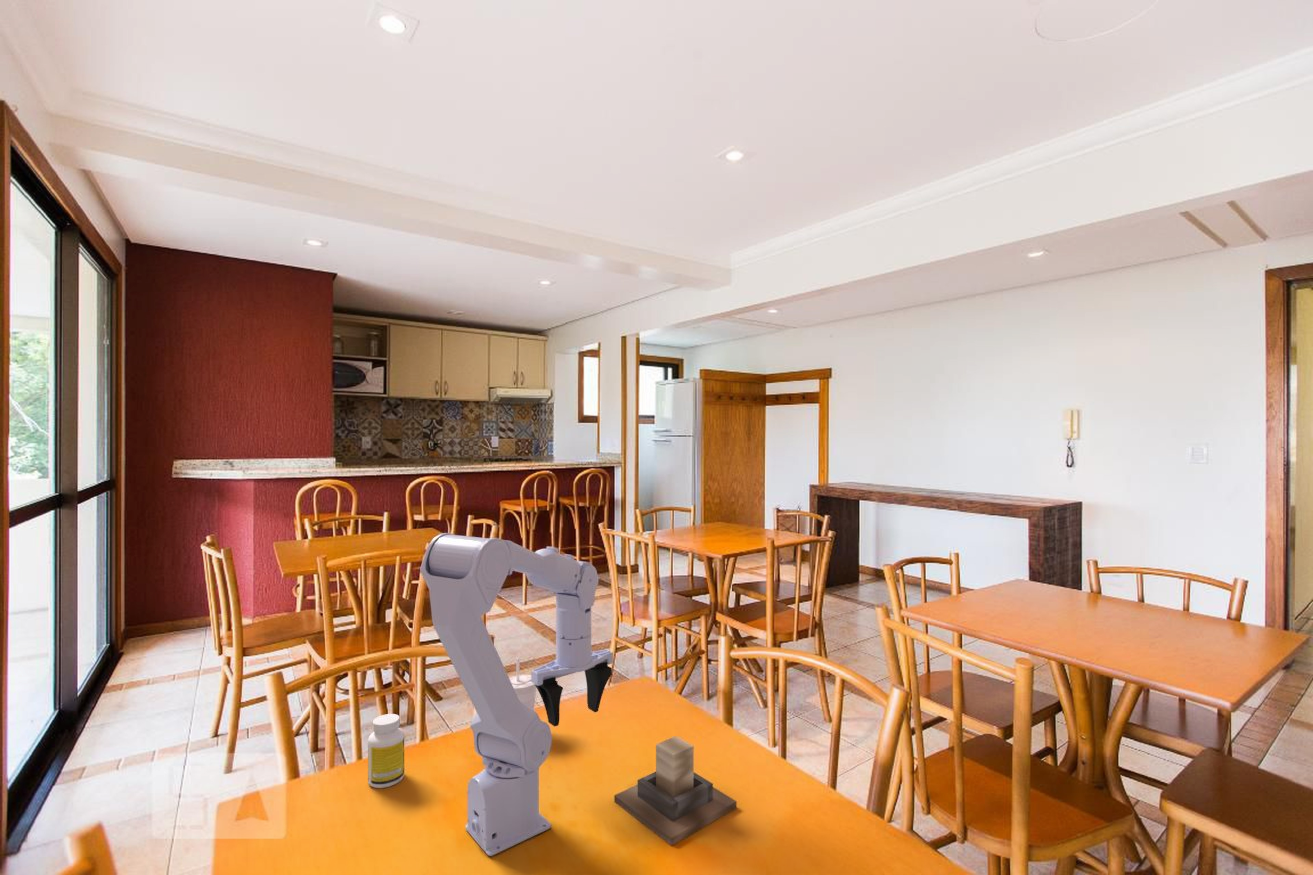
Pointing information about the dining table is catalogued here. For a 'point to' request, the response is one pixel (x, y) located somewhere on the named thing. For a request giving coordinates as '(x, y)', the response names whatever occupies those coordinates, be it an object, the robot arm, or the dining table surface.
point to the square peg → (674, 766)
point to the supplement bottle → (386, 752)
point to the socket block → (675, 807)
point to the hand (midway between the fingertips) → (573, 716)
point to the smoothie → (524, 687)
